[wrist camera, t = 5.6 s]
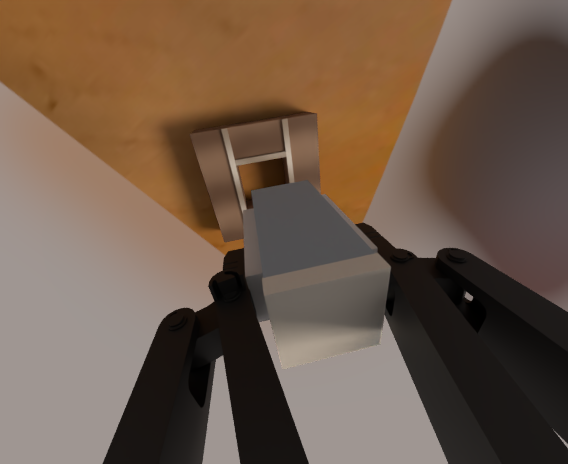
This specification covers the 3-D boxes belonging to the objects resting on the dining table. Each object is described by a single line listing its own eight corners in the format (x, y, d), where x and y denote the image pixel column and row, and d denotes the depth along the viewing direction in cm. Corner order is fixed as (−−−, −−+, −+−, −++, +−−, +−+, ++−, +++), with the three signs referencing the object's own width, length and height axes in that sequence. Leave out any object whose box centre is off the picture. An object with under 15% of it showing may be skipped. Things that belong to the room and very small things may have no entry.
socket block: (194, 130, 27) (188, 134, 24) (308, 112, 28) (317, 113, 25) (225, 230, 34) (224, 243, 31) (315, 212, 35) (322, 223, 32)
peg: (250, 189, 15) (264, 295, 7) (308, 179, 16) (391, 267, 7) (261, 239, 17) (282, 369, 9) (312, 229, 18) (380, 344, 9)
